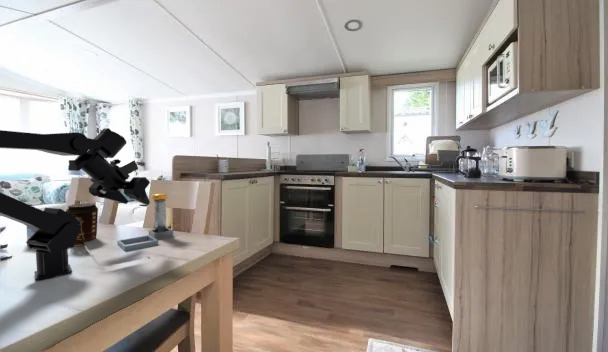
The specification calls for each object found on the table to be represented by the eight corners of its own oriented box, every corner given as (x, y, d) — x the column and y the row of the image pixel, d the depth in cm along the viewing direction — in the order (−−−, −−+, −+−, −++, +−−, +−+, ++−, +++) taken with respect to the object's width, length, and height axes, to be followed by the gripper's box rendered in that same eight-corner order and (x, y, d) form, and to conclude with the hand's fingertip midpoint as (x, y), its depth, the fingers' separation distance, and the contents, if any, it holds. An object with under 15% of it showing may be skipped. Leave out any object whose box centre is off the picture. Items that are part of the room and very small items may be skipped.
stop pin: (170, 236, 97) (169, 194, 96) (156, 238, 94) (154, 195, 93) (165, 233, 100) (164, 193, 99) (151, 236, 97) (150, 194, 96)
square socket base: (180, 238, 98) (180, 229, 97) (155, 243, 92) (155, 234, 92) (170, 234, 104) (170, 225, 104) (147, 238, 98) (146, 229, 98)
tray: (158, 248, 87) (158, 240, 87) (124, 255, 81) (124, 246, 81) (149, 242, 93) (149, 235, 93) (117, 248, 87) (117, 240, 87)
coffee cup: (72, 241, 95) (70, 203, 95) (102, 238, 99) (100, 202, 98) (63, 248, 87) (61, 207, 87) (96, 245, 91) (94, 205, 90)
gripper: (142, 149, 80) (174, 184, 91) (96, 150, 86) (131, 183, 97) (117, 178, 73) (154, 212, 84) (69, 178, 79) (110, 209, 90)
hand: (137, 203), depth 89 cm, fingers open, 9 cm apart
